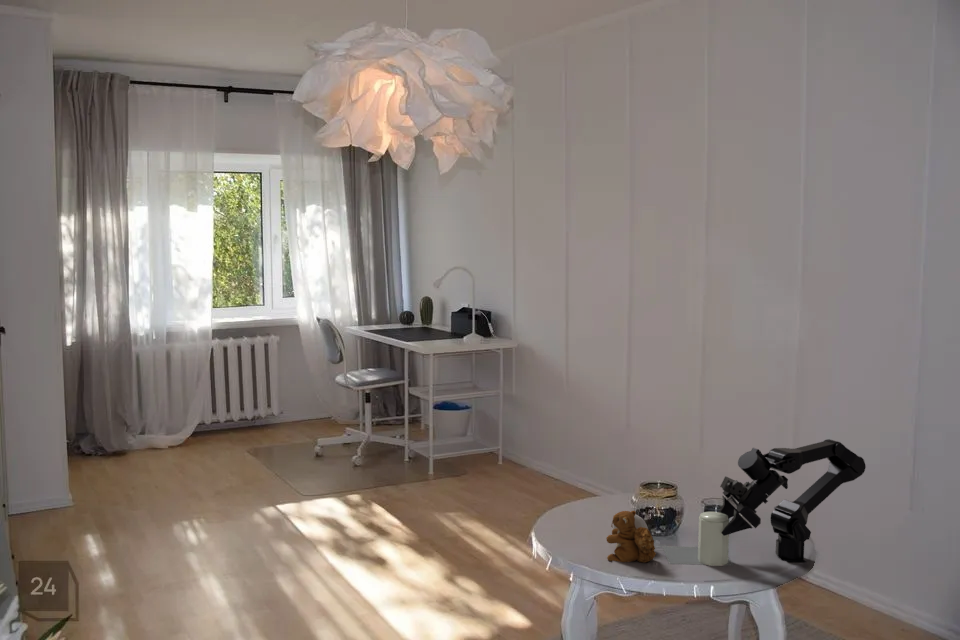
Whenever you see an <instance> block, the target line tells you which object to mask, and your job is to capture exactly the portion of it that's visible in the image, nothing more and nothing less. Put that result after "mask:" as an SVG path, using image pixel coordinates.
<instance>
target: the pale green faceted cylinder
mask: <svg viewBox="0 0 960 640" xmlns="http://www.w3.org/2000/svg"><path fill="white" fill-rule="evenodd" d="M729 522H730V520H729V519H728V516H727V515H726V514H723V513H719V511H704V512H701V513H700V514H699V516H698V535H697V536H698V539H697V542H698V543H697V547H698V560H699V562H700V563H703V564H706V565H705V566H709V567H722V566H726V565H725V564H727V563H728V557H729V546H730V545H729V543H730V542H729V540H730V539H729V537H730V534H728V535H725V536H724V535H723V534H722V533H721V532H722V531H723V530H724V528H725V527H726V526H727V525H728V523H729Z"/></svg>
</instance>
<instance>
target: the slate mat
mask: <svg viewBox="0 0 960 640" xmlns="http://www.w3.org/2000/svg"><path fill="white" fill-rule="evenodd" d="M661 547H662V550H663V553H664V554H665V557H666V559H667V562H668V565H669V564H670V565H691V566H692V565H693V566H694V565H697V566H699V565H700V566H707V565H706V564H703V563H700V562H699V560H698V546H678V545H675V546H674V545H671V546H668V545H662V546H661ZM724 566H730V567H734V563H733V562H732V560H731V558H730V557H729V556H728V563H727V564H725V565H724Z"/></svg>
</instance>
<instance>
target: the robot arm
mask: <svg viewBox="0 0 960 640" xmlns="http://www.w3.org/2000/svg"><path fill="white" fill-rule="evenodd" d="M824 459H827V460H828V461H829V463H828V467H827V468H828V470H827V471H826V472H824V473H823V475H821V476H820V477H819V478H818V479H817V480H816V481H815V482H813V484H812V485H810V486H809V487H808V488H807V489H806V490H805V491H804V492H802V494H801V495H799V496H798V497H797V498H796V499H795V500H793V501H790V500H787V499H783V500H781V501H780V503H779V504H778V505H776V506H774V507H773V511H772V512H771V513H770V524H771V526H772V529H773V530H772V531H773V532H774V533H775V534H778V535H777V538H778V539H777V538H776V539H775V555H776V556H777V557H778V558H779V559H780V560H781V561H782V562H783V561H784V562H789V563H790V562H792V563H793V562H795V563H797V562H798V563H806V561H807V560H806V558H805V542H806V541H807V540H810V538H811V533H812V531H811V530H810V529H809V528H808V527H807V523H808V518H809V515H810V513H811V512H813V511H814V510H815V509H816V508H817V507H818V506H819V505H821V504H822V503H823V502H824V501H825V500H826V499H827V498H828V497H829V496H830V495H831V494H832V493H834V492H835V491H836V490H837V489H838V488H839V487H840V486H842V485H843V484H845V483H849V482H853V481H855V480H856V479H858V478H860V477H862V476H863V474H864V473H865V471H866V468H867V466H866V462H865V459H864V458H863V457H862V456H859V455H858V454H856V453H855V452H854V451H851V449H849V448H848V447H846V445H844V444H843V443H841V441H838V440H833V439H830V438H829V439H825V440H823V441H818V442H816V443H812V444H809V445H808V444H807V445H804V446H799V447H797V448H795V447H794V448H789V447H788V448H787V447H775V448H771V449H770V450H769V452H767V453H764V454H763V453H762V452H761V450H760V449H758V448H755V447H752V448H751V450H749V451H745V452H744V453H743V454H742V455H740V456H739V458H738V460H737V466H738V467H739V468H740V469H741V470H742V471H743V472H744V473H745V474H746V475H747V477H749V478H750V479H751V482H749V481H746V482H745V483H743V482H741V481H738V480H734V479H733V478H730V477H728V476H724V478H723V480H722V482H721V484H720V488H721V489H722V494H723V495H722V505H721V507H720V509H719V511H718V512H719V513H723V514H726V515H727V516H728V520H729V519H731V520H729V523H728V525H727V526H726V527H725V528H724V530H723V531H722V532H721V533H722V534H723V535H724V536H725V535H728V534H729V535H731V534H734V533H737V532H740V531H745V530H748V529H753V528H754V529H757V528H758V527H759V526H760V525H761V523H762V521H761V517H760V516H759V515H758V514H757V509H758V507H760V506H761V505H762V504H763V503H764V504H767V503H768V502H769V500H767V499H768V498H769V497H770V496H771V495H772V494H773V493H775V491H777V490H778V489H779V488H780V487H781V486H782V487H783V488H784V489H785V490H787V489H788V487H789V485H788V481H789V479H788V478H787V477H786V476H785V475H780V473H779V472H781V473H784V474H789V475H790V474H793V473H795V472H797V471H798V470H801V468H802V466H804V465H806V464H809V463H814V462H817V461H821V460H824ZM774 533H773V534H774Z"/></svg>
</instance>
